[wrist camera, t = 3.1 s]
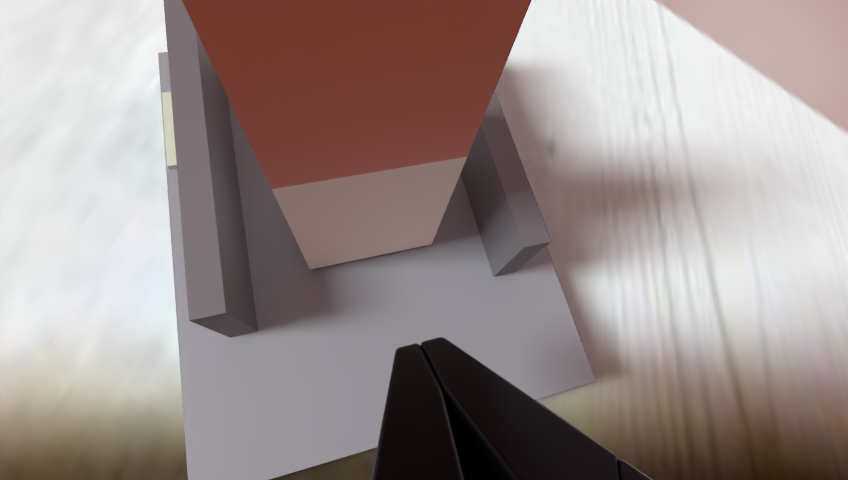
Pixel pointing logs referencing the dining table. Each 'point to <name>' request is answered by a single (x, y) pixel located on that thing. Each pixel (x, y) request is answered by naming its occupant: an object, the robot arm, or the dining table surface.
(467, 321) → the grey walled base plate
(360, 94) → the block
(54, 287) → the dining table surface
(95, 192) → the dining table surface
